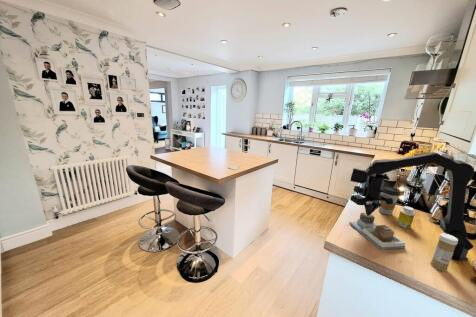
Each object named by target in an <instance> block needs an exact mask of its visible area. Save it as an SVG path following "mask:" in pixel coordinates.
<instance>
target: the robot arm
mask: <svg viewBox="0 0 476 317" xmlns="http://www.w3.org/2000/svg"><path fill="white" fill-rule="evenodd" d="M429 164H435V165H438V166H439V167H442V168H444V169H446V174H447V177H448V180H449V192H448V201H447V202H448V203H447V213H446V216H444V217H442V216H440V217H439V218H440V223H439V227H440V228H441V230H442V231H443V233H445V234H449V235H452V236H454V237H456V238H457V239H458V243H457V245H456V246H455V249H454V252H453V255H452V258H451V260H453V261H455V262H459V261H468V260H469V258H468V257H467V256H468V253H469V252H470V250H472V249H473V248H475V246H474V245H473V244H472V242H471V241H470V240H469V238H468V232H467V227H466V225H465V221H464V215H465V204H466V195H467V185H468V184H469V183H470V182H471V181H472V178H473V176H474V174H475V168H474V167H473V165H471V164H469V163H467V162H466V161H463V160H459V159H457V160H453V159H452V158H448V157H446V156H444V155H441V154H439V153H438V152H435V151H434V152H433V151H431V152H429V153H423V154H418V155H413V156H412V155H411V156H407V157H400V158H395V159H394V158H393V159H390V158H389V159H386V158H385V159H383V158H382V159H375V160H373V162H372V163H371V166H368V168H366V169H359V168H355V167H353V168H352V173H351V176H350V180H349V181H350V182H353V183H358V184H365V183H367V185H364V187H360V185H354V187H353V192H354V193H356V194H352V195H351V196H350V199H349V200H350V201H351V202H353V203H354V204H356V205H358V206H364V210H365V213H366V215H368V216H369V215H370V214H371V215H373V213H374V212H375V211H376V210H377V209H379V207H380V206H382V205H381V204H380V201H386V204H392V203H393V199H392V198H391V197H388V196H386V195H384V194H381V193H382V192H383V191H384V190H382V188H383V184H384V181H390V176H388V174H387V173H389V172H392V171H394V170H398V169H402V168H411V167H416V166H423V165H429ZM359 194H360V195H359Z"/></svg>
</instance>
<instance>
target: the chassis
mask: <svg viewBox="0 0 476 317" xmlns="http://www.w3.org/2000/svg"><path fill="white" fill-rule="evenodd" d="M348 225H350V226H351V227H352V228H354V229H355V231H357V232H358V233H359V234H361V235H362V236H363V237H364V238H366V239H367V240H368V241H369V242H370V243H371V244H373V245H374V246H375V247H376V248H377V249H378V250H380V251H383V250H384V251H385V250H398V249H399V250H400V249H406V242H405V241H404V240H402V239H401V238H400V237H398V236H396V235H395V234H394V235H393V238H392V242H382V241H381V240H379V239H378V238H377V237H376V236H374V231H375V227H376V226H377V224H376V223H374V222H373V223H368V222H365V221H363V220H361V219H360V217H358V218H357V221H349V222H348Z"/></svg>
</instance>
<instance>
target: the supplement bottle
mask: <svg viewBox="0 0 476 317" xmlns="http://www.w3.org/2000/svg"><path fill="white" fill-rule="evenodd" d="M414 210H415V208H413V207H410V206H407V205H404V206H403V208H401V209H400V210H399V214H398V218H397V221H396V223H397V225H398V226H399V227H402V228H405V229H410V228H412V224H413V221H414V217H415V215H416V214H415V212H414Z"/></svg>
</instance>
